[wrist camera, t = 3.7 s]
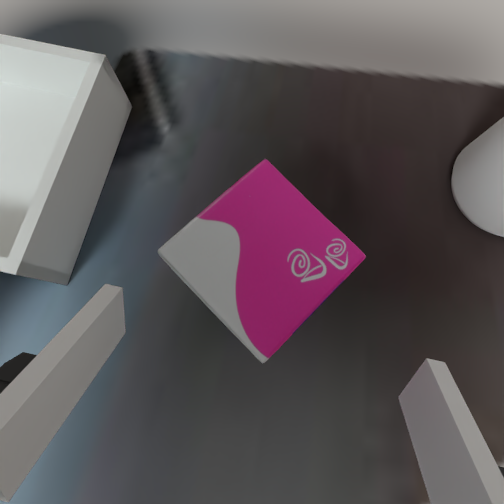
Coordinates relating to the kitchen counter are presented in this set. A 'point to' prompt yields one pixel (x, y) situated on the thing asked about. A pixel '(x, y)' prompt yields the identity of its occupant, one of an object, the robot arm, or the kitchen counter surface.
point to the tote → (53, 152)
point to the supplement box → (262, 258)
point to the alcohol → (482, 180)
